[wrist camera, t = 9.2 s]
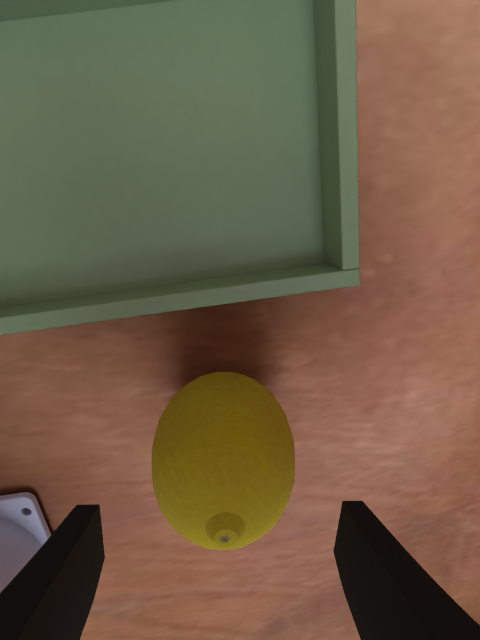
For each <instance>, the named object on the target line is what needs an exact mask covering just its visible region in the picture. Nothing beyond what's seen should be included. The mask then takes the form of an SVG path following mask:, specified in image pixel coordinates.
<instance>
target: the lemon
mask: <svg viewBox="0 0 480 640" xmlns="http://www.w3.org/2000/svg"><path fill="white" fill-rule="evenodd" d="M294 476H295V450H294V440H293V436H292V432H291V429H290V426H289V423H288V420H287V417H286V415H285V413H284V411H283V409H282V407H281V406H280V405H279V403H278V402H277V400H276V399H275V397H274V396H273V395H272V393H271V392H270V391H269V390H267V389H266V388H265V387H264V386H263V385H261V384H260V383H259V382H258V381H256V380H254V379H252V378H250V377H248V376H245V375H243V374H239V373H234V372H214V373H210V374H206V375H202V376H200V377H198V378H197V379H195V380H193V381H191V382H189V383H187V384H186V385H185V386H184V387H183V388H182V389H181V390H180V391H179V392H177V393H176V394H175V395H174V397H173V398H172V400H171V401H170V403H169V404H168V406H167V407H166V409H165V410H164V412H163V414H162V416H161V418H160V420H159V423H158V427H157V430H156V434H155V437H154V441H153V447H152V479H153V487H154V491H155V494H156V498H157V501H158V504H159V506H160V509H161V511H162V513H163V515H164V517H165V518H166V519H167V521H168V522H169V523H170V525H171V526H172V527H173V528H174V529H175V530H176V531H177V532H178V533H179V534H180V535H182V536H183V537H184V538H185V539H187V540H188V541H190V542H192V543H195V544H197V545H199V546H201V547H204V548H208V549H213V550H230V549H237V548H240V547H243V546H246V545H249V544H251V543H252V542H254V541H256V540H257V539H259V538H261V537H262V536H264V535H265V534H266V533H267V532H268V531H269V530H270V529H271V528H272V527H273V526H274V525H275V524H276V523H277V522H278V520H279V518H280V517H281V515H282V514H283V512H284V511H285V509H286V507H287V505H288V502H289V498H290V495H291V491H292V488H293V484H294Z"/></svg>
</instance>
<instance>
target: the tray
mask: <svg viewBox="0 0 480 640" xmlns="http://www.w3.org/2000/svg"><path fill="white" fill-rule="evenodd" d="M358 285H360V270H359V200H358V126H357V53H356V0H0V335H5V334H12V333H19V332H26V331H34V330H41V329H48V328H55V327H63V326H70V325H77V324H84V323H92V322H99V321H106V320H113V319H121V318H128V317H135V316H142V315H150V314H157V313H164V312H171V311H178V310H186V309H193V308H200V307H207V306H215V305H222V304H229V303H236V302H244V301H251V300H258V299H265V298H273V297H280V296H287V295H294V294H302V293H309V292H316V291H323V290H330V289H338V288H345V287H352V286H358Z"/></svg>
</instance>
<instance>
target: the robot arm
mask: <svg viewBox="0 0 480 640" xmlns="http://www.w3.org/2000/svg"><path fill="white" fill-rule="evenodd" d="M334 555H335V559H336V563H337V567H338V571H339V575H340V579H341V583H342V586H343V590H344V593H345V596H346V599H347V602H348V605H349V608H350V611H351V613H352V616H353V619H354V622H355V625H356V627H357V630H358V633H359V636H360V638H361V640H480V625H479V624H478V623H476V622H475V621H474V620H473V619H472V618H471V617H470V616H469V615H468V614H467V613H466V612H465V611H464V610H463V609H462V608H461V607H460V606H459V605H458V604H457V603H456V602H455V601H454V600H453V599H452V598H451V597H450V596H449V595H448V594H447V593H446V592H445V591H444V590H443V589H442V588H441V587H440V586H439V585H438V584H437V583H436V582H435V581H434V580H433V579H432V578H431V576H430V575H429V574H428V573H427V572H426V571H425V570H424V569H423V568H422V567H421V566H420V565H419V564H418V563H417V562H416V560H415V559H414V558H413V557H412V556H411V555H410V554H409V553H408V552H407V551H406V550H405V548H404V547H403V546H402V545H401V544H400V543H399V542H398V541H397V540H396V538H395V537H394V536H393V535H392V534H391V533H390V532H389V531H388V529H387V528H386V527H385V526H384V525H383V524H382V523H381V522H380V520H379V519H378V518H377V517H376V516H375V515H374V514H373V512H372V511H371V510H370V509H369V508H368V507H367V506H366V505H365V503H364V502H363V501H343V502H342V508H341V513H340V519H339V524H338V530H337V535H336V541H335V547H334ZM104 558H105V555H104V545H103V536H102V526H101V516H100V506H99V505H77V506H76V507H75V508H74V509H73V510H72V511H71V512H70V513H69V515H68V516H67V517H66V518H65V519H64V521H63V522H62V523H61V524H60V525H59V527H58V528H57V529H56V530H55V531H54V533H53V534H52V535H51V533H50V531H49V528H48V526H47V523H46V521H45V519H44V516H43V514H42V511H41V509H40V506H39V504H38V501H37V499H36V497H35V496H34V495H33V494H32V493H29V492H22V493H16V494H9V495H2V496H0V640H80V637H81V634H82V631H83V628H84V626H85V623H86V620H87V617H88V615H89V612H90V609H91V606H92V603H93V600H94V596H95V593H96V589H97V585H98V582H99V578H100V574H101V570H102V566H103V562H104Z"/></svg>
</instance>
